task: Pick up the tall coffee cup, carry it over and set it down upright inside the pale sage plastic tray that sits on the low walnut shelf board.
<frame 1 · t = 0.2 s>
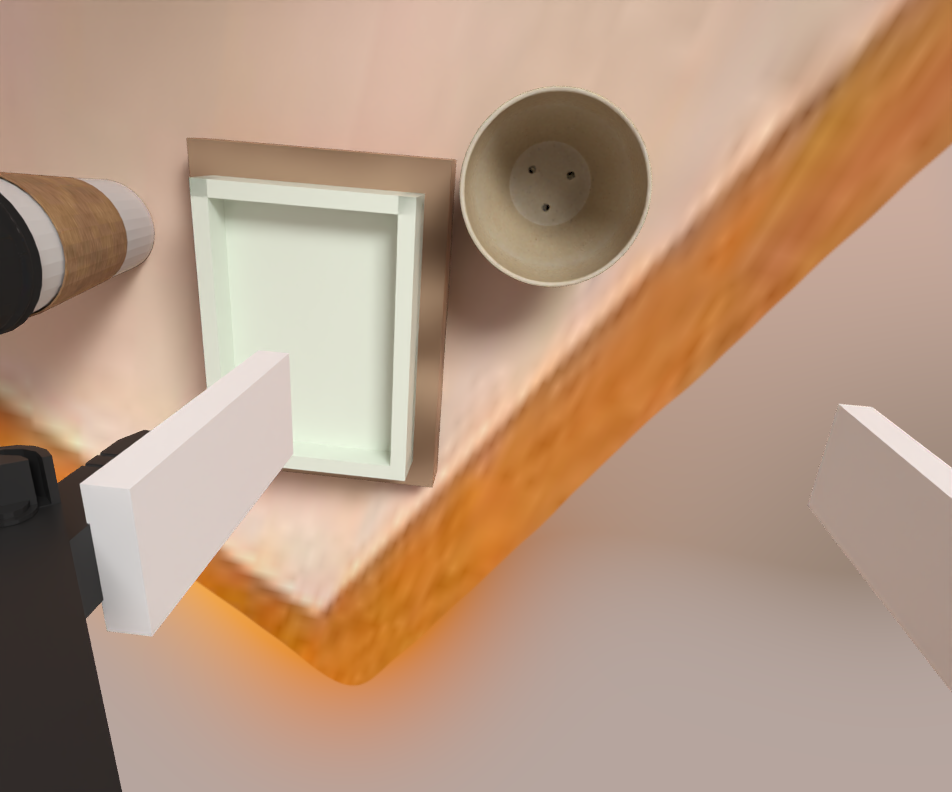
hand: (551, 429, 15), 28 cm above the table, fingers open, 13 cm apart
tray: (320, 328, 42), resting on shelf board
flower pot: (550, 184, 40), on the table
coffee cup: (114, 225, 43), on the table
shelf board: (331, 318, 44), on the table
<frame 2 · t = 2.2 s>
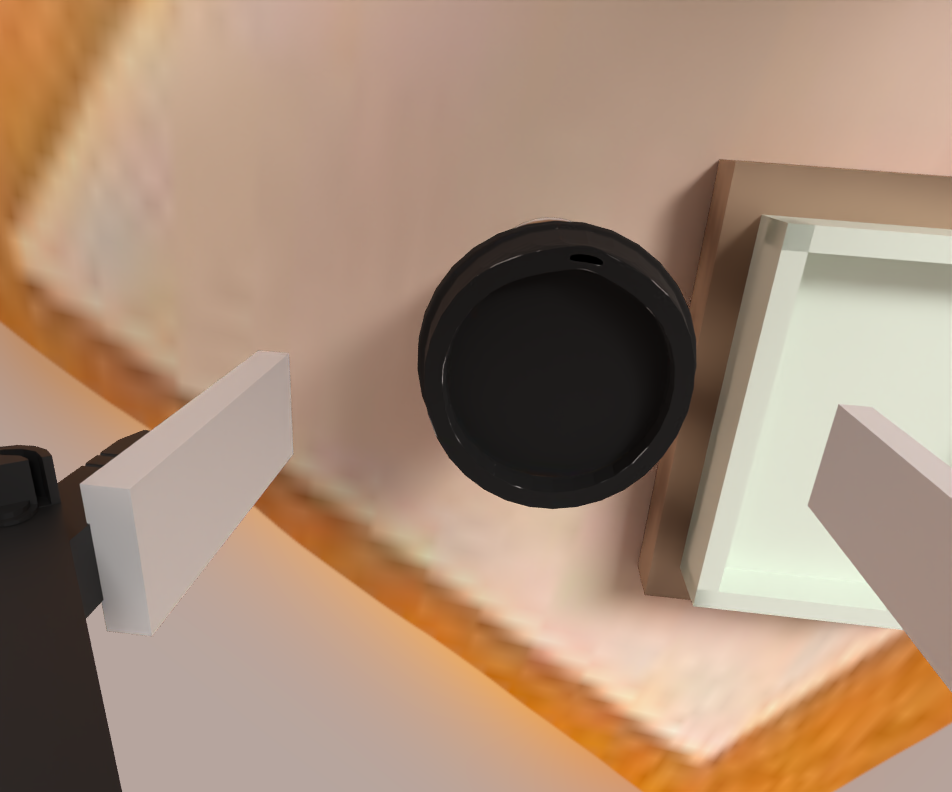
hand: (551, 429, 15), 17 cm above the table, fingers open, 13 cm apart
tray: (857, 424, 30), resting on shelf board
coffee cup: (546, 278, 31), on the table
shelf board: (834, 404, 32), on the table
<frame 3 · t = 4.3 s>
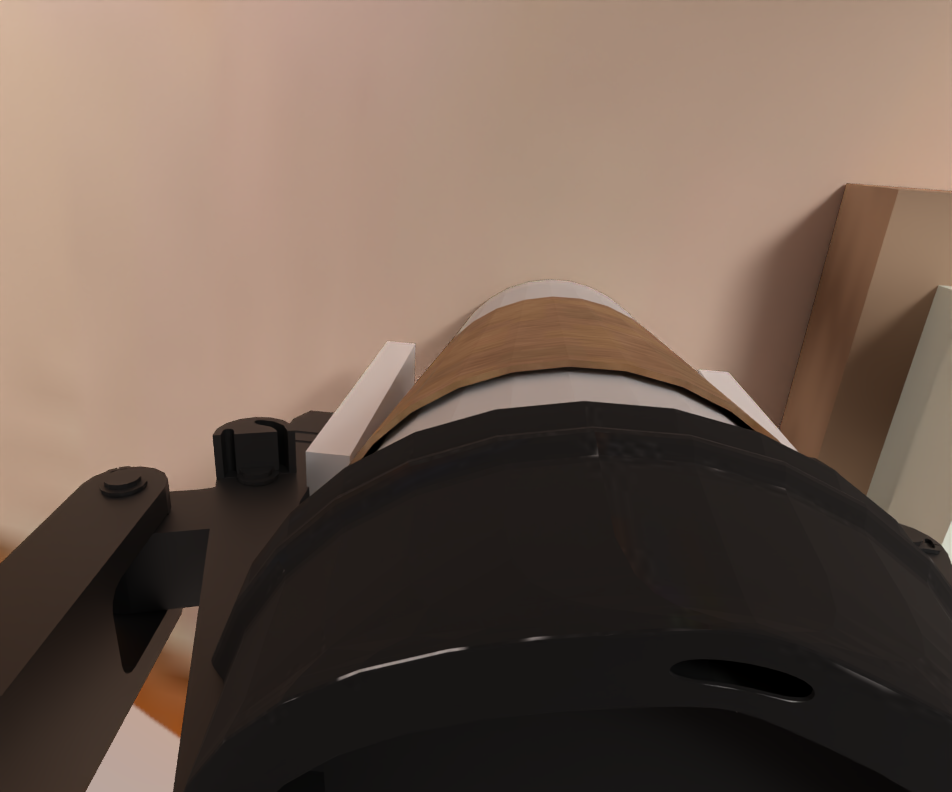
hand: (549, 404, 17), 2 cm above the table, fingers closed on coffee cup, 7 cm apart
coffee cup: (547, 375, 19), on the table, touching gripper
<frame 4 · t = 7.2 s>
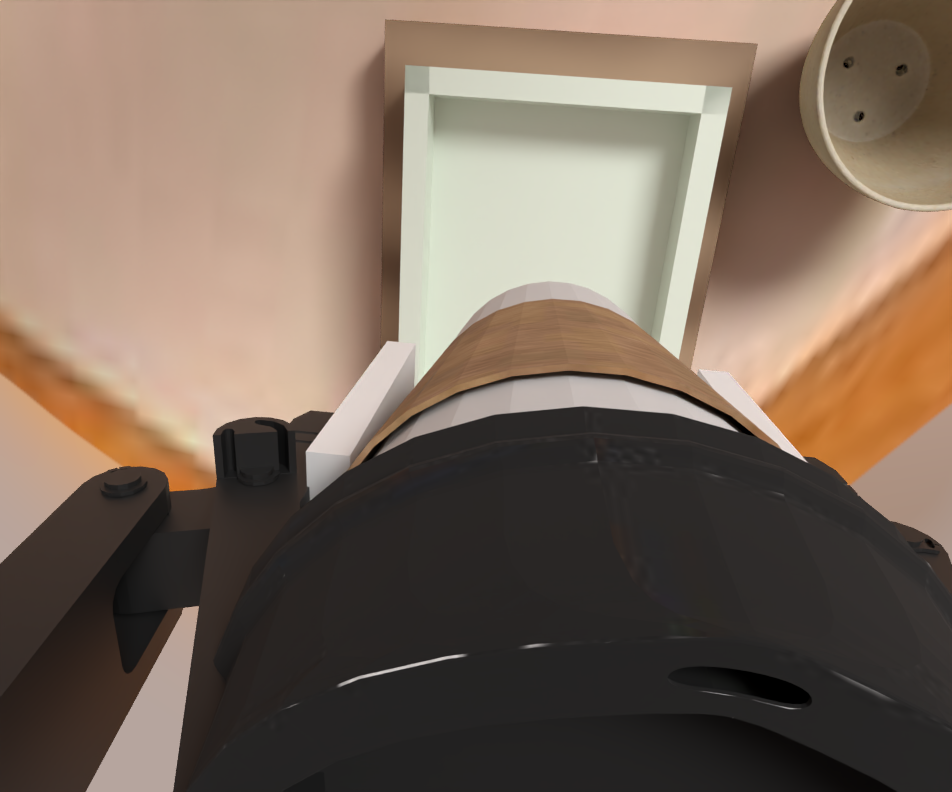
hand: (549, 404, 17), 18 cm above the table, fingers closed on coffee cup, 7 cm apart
tray: (541, 284, 31), resting on shelf board
flower pot: (864, 85, 29), on the table
coffee cup: (547, 376, 19), point 16 cm above the table, touching gripper
shelf board: (540, 275, 34), on the table
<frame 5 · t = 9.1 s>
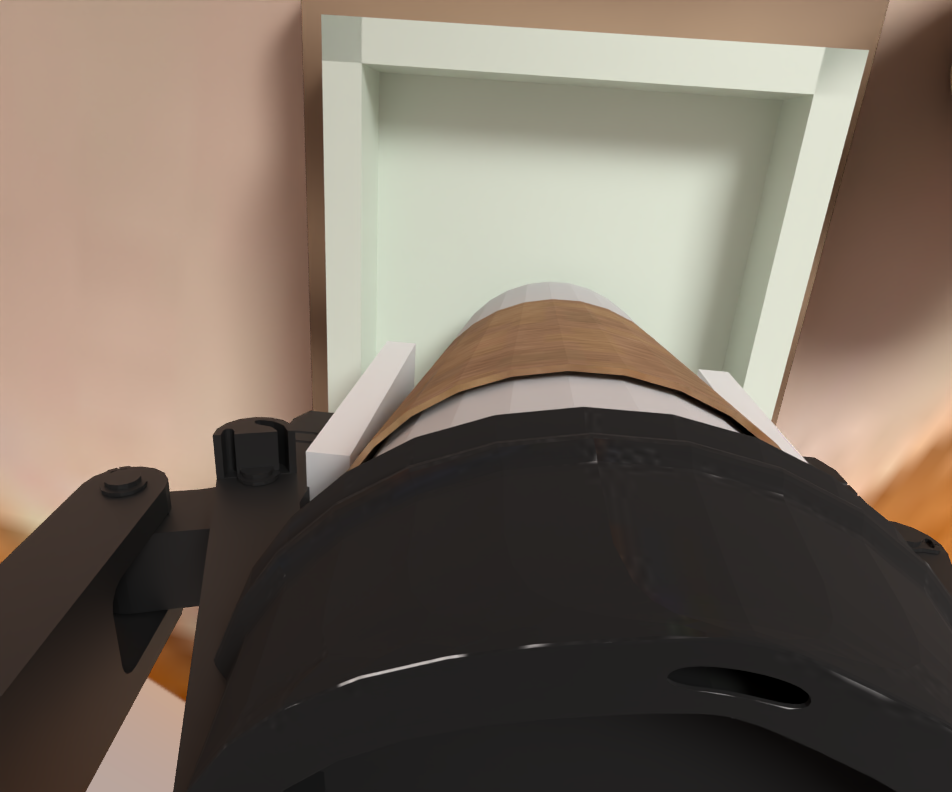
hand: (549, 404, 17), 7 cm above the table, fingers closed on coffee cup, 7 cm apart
tray: (545, 353, 21), resting on shelf board
coffee cup: (547, 377, 19), point 5 cm above the table, touching gripper
shelf board: (543, 333, 24), on the table
when the fingers open (7 cm above the table, at t = 9.9 s): coffee cup drops 1 cm, resting on tray.
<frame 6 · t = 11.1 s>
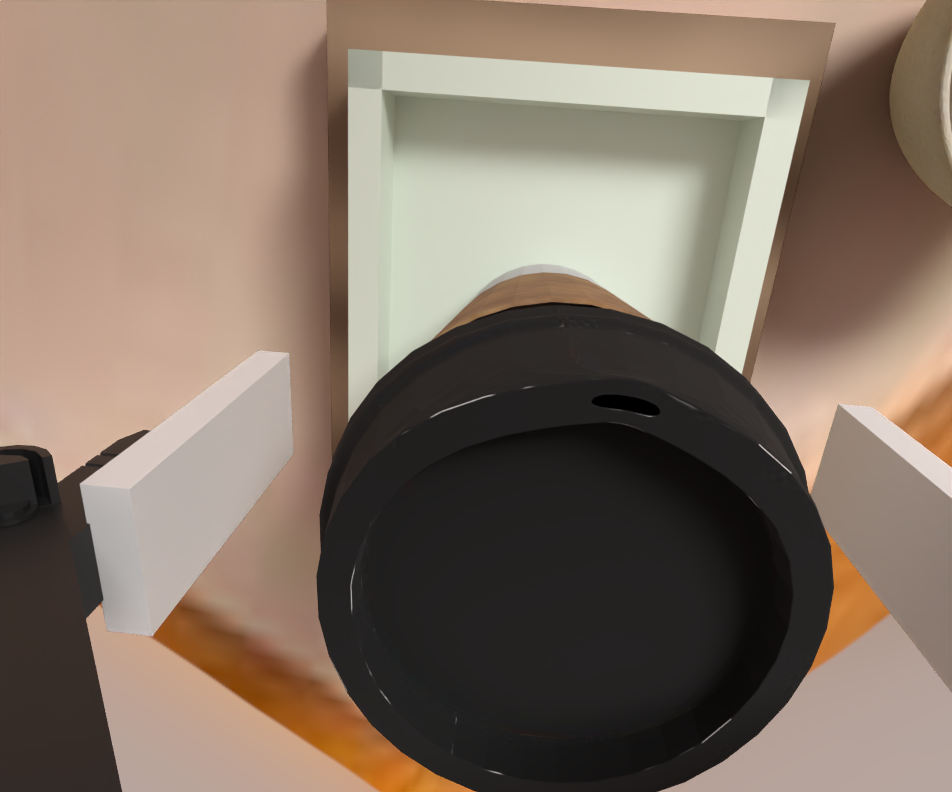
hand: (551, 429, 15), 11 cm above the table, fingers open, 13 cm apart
tray: (539, 342, 24), resting on shelf board
coffee cup: (541, 344, 23), point 3 cm above the table, touching tray
shelf board: (538, 326, 26), on the table
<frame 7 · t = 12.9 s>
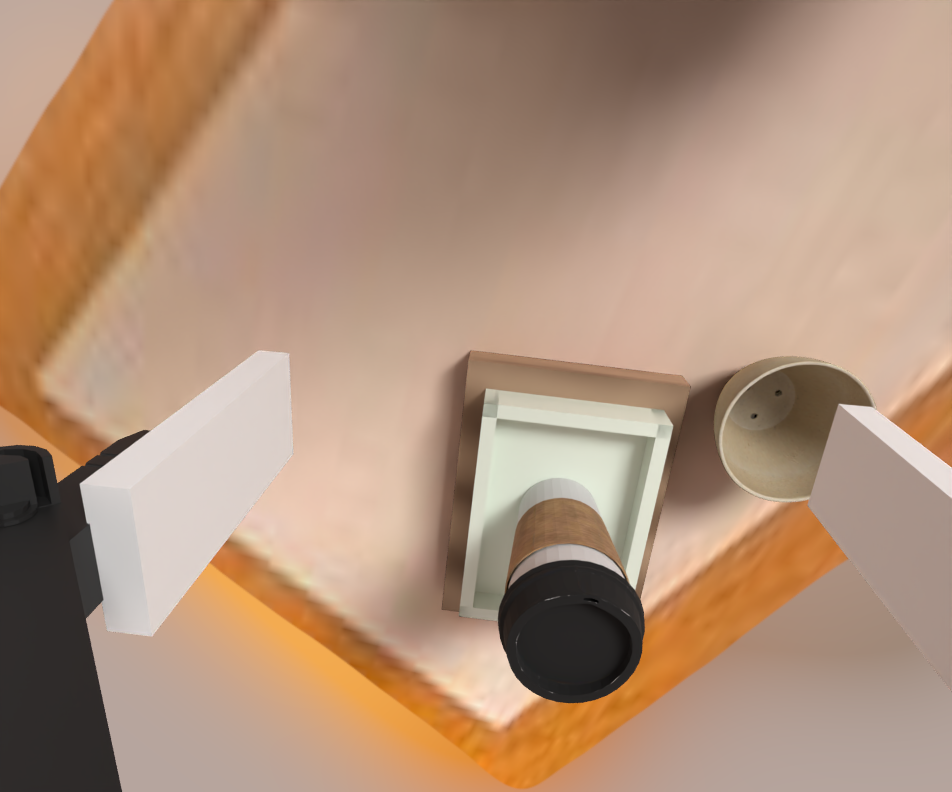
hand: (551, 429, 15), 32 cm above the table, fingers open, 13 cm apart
tray: (556, 507, 49), resting on shelf board
flower pot: (757, 396, 48), on the table
coffee cup: (557, 510, 48), point 3 cm above the table, touching tray
shelf board: (554, 491, 52), on the table
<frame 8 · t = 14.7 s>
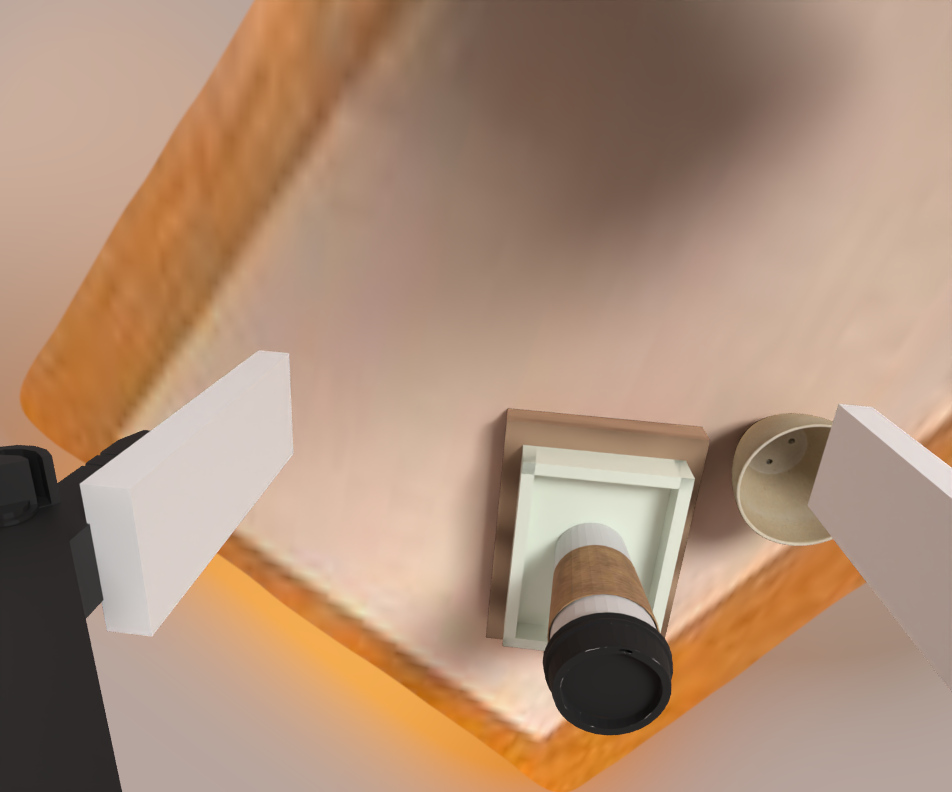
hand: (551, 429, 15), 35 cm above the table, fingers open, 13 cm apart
tray: (588, 546, 54), resting on shelf board
flower pot: (772, 443, 52), on the table
coffee cup: (590, 550, 53), point 3 cm above the table, touching tray
shelf board: (586, 530, 56), on the table
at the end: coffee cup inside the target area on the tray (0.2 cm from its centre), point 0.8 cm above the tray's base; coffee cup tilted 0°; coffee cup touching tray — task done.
